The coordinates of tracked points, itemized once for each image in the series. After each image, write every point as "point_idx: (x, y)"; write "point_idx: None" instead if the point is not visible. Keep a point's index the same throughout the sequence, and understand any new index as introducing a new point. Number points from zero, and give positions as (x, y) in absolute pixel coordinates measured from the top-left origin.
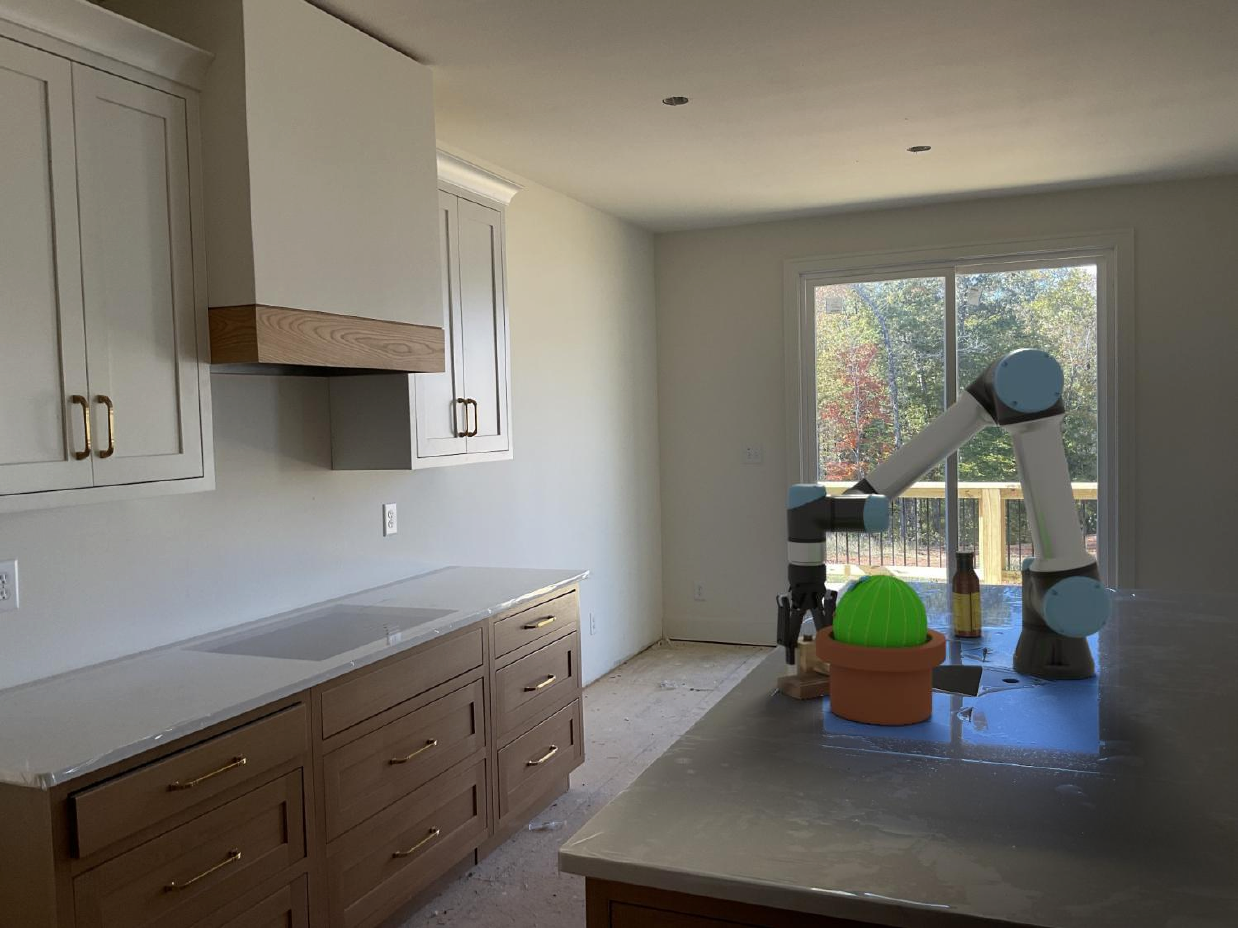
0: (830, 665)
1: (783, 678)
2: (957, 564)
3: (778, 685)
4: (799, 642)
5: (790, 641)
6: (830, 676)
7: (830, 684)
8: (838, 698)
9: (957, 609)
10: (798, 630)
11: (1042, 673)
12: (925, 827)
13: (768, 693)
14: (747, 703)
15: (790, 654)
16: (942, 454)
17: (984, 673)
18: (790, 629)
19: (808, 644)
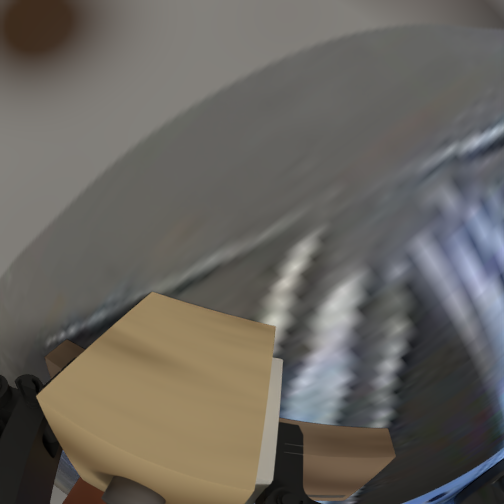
0: (64, 501)
1: (54, 372)
2: None
3: (58, 349)
4: (74, 462)
5: (43, 425)
6: (72, 489)
7: (78, 479)
8: None
9: None
10: (40, 498)
11: (458, 499)
12: (65, 484)
13: (46, 330)
14: (8, 327)
15: None
16: None
17: (466, 473)
18: (6, 468)
19: (98, 487)
